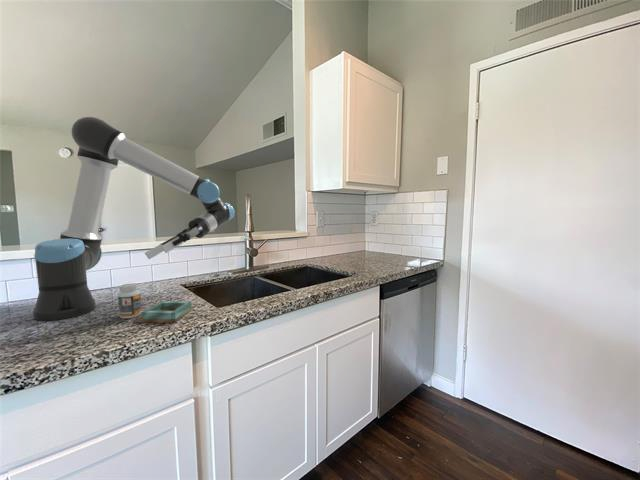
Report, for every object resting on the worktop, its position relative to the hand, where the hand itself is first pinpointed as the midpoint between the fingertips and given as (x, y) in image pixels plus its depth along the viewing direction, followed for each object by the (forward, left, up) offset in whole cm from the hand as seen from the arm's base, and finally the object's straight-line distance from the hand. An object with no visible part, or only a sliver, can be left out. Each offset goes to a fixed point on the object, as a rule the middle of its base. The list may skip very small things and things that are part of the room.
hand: (155, 253), depth 98 cm
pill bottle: (-3, -10, -19) cm, 21 cm away
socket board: (+8, -10, -18) cm, 23 cm away
